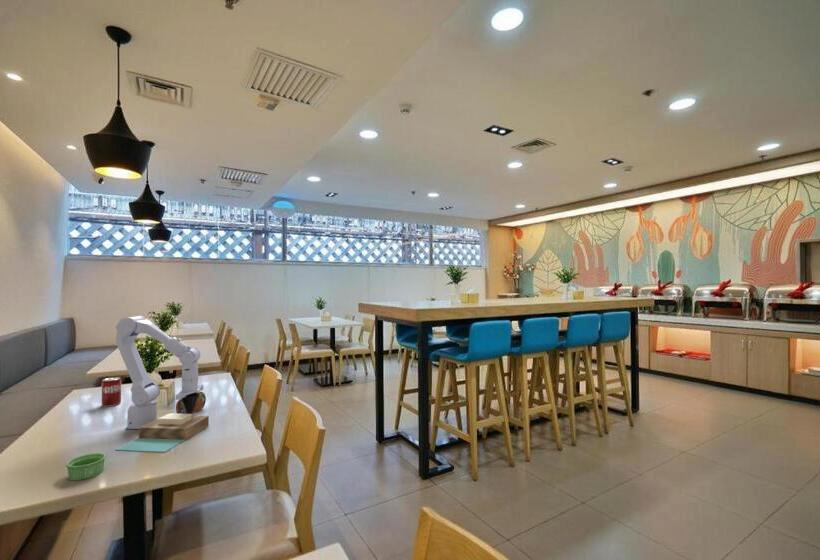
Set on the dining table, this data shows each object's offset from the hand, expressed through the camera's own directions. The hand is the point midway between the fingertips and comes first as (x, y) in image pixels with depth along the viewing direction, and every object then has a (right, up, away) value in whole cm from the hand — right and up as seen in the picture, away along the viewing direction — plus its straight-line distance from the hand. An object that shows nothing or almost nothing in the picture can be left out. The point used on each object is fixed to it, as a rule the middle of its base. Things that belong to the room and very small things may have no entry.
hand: (189, 412), depth 157 cm
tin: (-7, -5, +13) cm, 16 cm away
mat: (-2, -4, -21) cm, 21 cm away
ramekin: (-8, -5, -41) cm, 42 cm away
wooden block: (-1, -5, -9) cm, 10 cm away
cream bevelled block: (-1, -1, -9) cm, 9 cm away
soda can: (-51, -5, +25) cm, 57 cm away
